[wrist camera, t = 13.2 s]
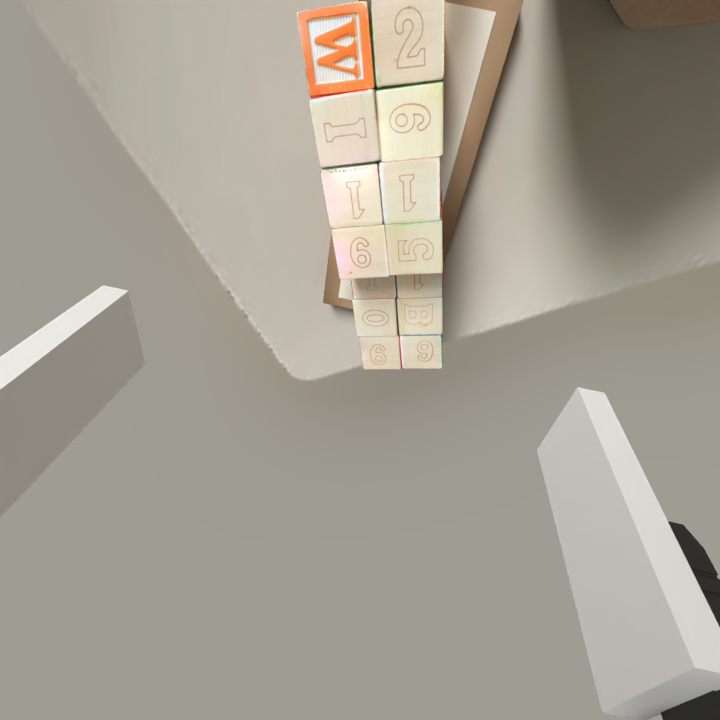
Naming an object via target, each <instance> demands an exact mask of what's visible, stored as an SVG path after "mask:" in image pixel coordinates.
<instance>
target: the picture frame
mask: <svg viewBox="0 0 720 720" xmlns="http://www.w3.org/2000/svg"><path fill="white" fill-rule="evenodd" d="M360 1H367V2H371V1H372V0H359V2H360ZM522 3H523V0H445V57H444V111H443V155H442V157H441V190H442V248H443V262H444V259H445V256H446V252H447V249H448V246H449V243H450V239H451V236H452V233H453V230H454V226H455V223H456V220H457V216H458V213H459V210H460V207H461V203H462V200H463V197H464V193H465V190H466V187H467V184H468V180H469V177H470V174H471V170H472V167H473V164H474V161H475V157H476V154H477V151H478V147H479V144H480V141H481V138H482V134H483V131H484V128H485V124H486V121H487V118H488V115H489V111H490V108H491V105H492V101H493V98H494V95H495V92H496V88H497V85H498V82H499V78H500V75H501V72H502V69H503V65H504V62H505V59H506V55H507V52H508V49H509V46H510V42H511V39H512V36H513V32H514V29H515V26H516V23H517V19H518V16H519V13H520V9H521V6H522ZM352 299H353V294H352V286H351V279H342V280H340V278H339V273H338V268H337V262H336V256H335V251H334V245H333V239H332V232H331V241H330V249H329V258H328V266H327V275H326V283H325V292H324V300H323V303H326V304H331V305H335V306H340V307H345V308H349V309H353V302H352Z"/></svg>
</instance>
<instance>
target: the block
mask: <svg viewBox="0 0 720 720" xmlns="http://www.w3.org/2000/svg"><path fill="white" fill-rule="evenodd" d="M609 1H610V3H611V4H612V6H613V7H614V9H615V11H616V12H617V14H618V15H619V17H620V18H621V20H622V22H623V23H624V25H625V26H627V27H629V28H631V29H633V30H635V31H637V30H646V29H654V28H663V27H671V26H680V25H688V24H697V23H705V22H714V21H720V0H609Z"/></svg>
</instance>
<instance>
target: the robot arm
mask: <svg viewBox="0 0 720 720" xmlns="http://www.w3.org/2000/svg"><path fill="white" fill-rule="evenodd" d="M144 364H145V363H144V358H143V354H142V349H141V345H140V340H139V336H138V331H137V327H136V323H135V318H134V314H133V309H132V304H131V300H130V295H129V291H127V290H122V289H118V288H113V287H108V286H104V285H103V286H102V287H100V288H99V289H97V290H96V291H94V292H93V293H92V294H90V295H89V296H87V297H86V298H84V299H83V300H81V301H80V302H79V303H77V304H76V305H74V306H73V307H72V308H70V309H69V310H67V311H66V312H64V313H63V314H62V315H60V316H58V317H57V318H56V319H54V320H53V321H51V322H50V323H49V324H47V325H46V326H44V327H43V328H41V329H40V330H38V331H37V332H35V333H34V334H33V335H31V336H30V337H28V338H27V339H25V340H24V341H23V342H21V343H20V344H18V345H17V346H15V347H14V348H13V349H11V350H10V351H8V352H7V353H5V354H4V355H2V356H1V357H0V518H1V517H2V515H3V514H4V513H5V512H6V511H7V510H8V509H9V508H10V507H11V506H12V505H13V504H14V502H16V501H17V499H18V498H19V497H20V496H21V495H22V494H23V493H24V492H25V491H26V490H27V489H28V488H29V487H30V486H31V484H33V482H34V481H35V480H36V479H37V478H38V477H39V476H40V475H41V474H42V473H43V472H44V471H45V470H46V469H47V467H49V465H50V464H51V463H52V462H53V461H54V460H55V459H56V458H57V457H58V456H59V455H60V454H61V452H63V451H64V449H65V448H66V447H67V446H68V445H69V444H70V443H71V442H72V441H73V440H74V439H75V438H76V437H77V436H78V435H79V433H80V432H81V431H82V430H83V429H84V428H85V427H86V426H87V425H88V424H89V423H90V422H91V421H92V420H93V419H94V418H95V416H97V414H98V413H99V412H100V411H101V410H102V409H103V408H104V407H105V406H106V405H107V404H108V403H109V402H110V401H111V400H112V399H113V397H114V396H115V395H116V394H117V393H118V392H119V391H120V390H121V389H122V388H123V387H124V386H125V385H126V383H127V382H128V381H129V380H130V379H131V378H132V377H133V376H134V375H135V374H136V373H137V372H138V371H139V370H140V369H141V368H142V367H143V365H144ZM537 453H538V457H539V460H540V465H541V468H542V473H543V476H544V481H545V484H546V489H547V493H548V496H549V500H550V505H551V509H552V513H553V517H554V521H555V524H556V529H557V532H558V537H559V541H560V545H561V549H562V553H563V557H564V561H565V564H566V569H567V573H568V577H569V581H570V585H571V589H572V593H573V596H574V600H575V605H576V609H577V612H578V617H579V621H580V624H581V629H582V633H583V637H584V641H585V645H586V649H587V653H588V657H589V661H590V665H591V669H592V673H593V676H594V681H595V684H596V689H597V693H598V697H599V701H600V705H601V709H602V712H603V713H607V714H611V715H615V716H619V717H624V718H628V719H632V720H647V719H650V718H652V717H654V716H657V715H659V714H661V715H662V718H663V720H720V579H718V578H717V575H718V574H717V572H716V570H715V568H714V566H713V565H712V563H711V561H710V559H709V557H708V555H707V553H706V552H705V550H704V548H703V547H702V546H701V545H700V544H699V542H698V541H697V540H696V539H695V538H694V537H693V536H692V534H691V533H690V532H689V531H688V530H687V529H686V528H685V526H684V525H682V524H677V523H673V522H668V521H667V519H666V517H665V515H664V513H663V511H662V509H661V507H660V505H659V503H658V501H657V499H656V497H655V495H654V493H653V491H652V488H651V486H650V484H649V482H648V481H647V478H646V476H645V474H644V472H643V470H642V468H641V466H640V464H639V462H638V460H637V458H636V456H635V454H634V452H633V450H632V448H631V446H630V444H629V442H628V440H627V438H626V435H625V433H624V431H623V429H622V428H621V425H620V423H619V422H618V419H617V417H616V415H615V413H614V411H613V409H612V407H611V405H610V403H609V401H608V399H607V397H606V395H605V393H602V392H598V391H593V390H588V389H583V388H579V387H577V389H576V390H575V392H574V393H573V395H572V397H571V398H570V400H569V401H568V403H567V404H566V406H565V407H564V409H563V410H562V412H561V414H560V415H559V417H558V418H557V420H556V421H555V423H554V424H553V426H552V428H551V429H550V431H549V432H548V434H547V436H546V437H545V438H544V440H543V441H542V443H541V444H540V446H539V448H538V449H537Z"/></svg>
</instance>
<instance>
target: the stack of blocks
mask: <svg viewBox="0 0 720 720" xmlns="http://www.w3.org/2000/svg"><path fill="white" fill-rule="evenodd" d="M297 21H298V28H299V34H300V40H301V46H302V52H303V58H304V64H305V71H306V77H307V83H308V90H309V94H310V96H311V99H310V102H309V105H310V111H311V117H312V123H313V128H314V133H315V139H316V145H317V151H318V156H319V161H320V165H321V167H322V170H321V181H322V187H323V192H324V198H325V203H326V209H327V214H328V220H329V225H330V227H331V229H332V239H333V245H334V251H335V256H336V262H337V268H338V273H339V278H340V280H342V279H351V286H352V294H353V299H352V302H353V311H354V319H355V325H356V332H357V336H358V337H359V343H360V350H361V358H362V365H363V369H401V368H406V369H441V368H442V331H443V321H442V303H443V302H442V294H443V290H442V288H443V280H442V272H443V248H442V190H441V157H442V155H443V111H444V57H445V0H372V1H371V2H367V1H360V2H352V3H346V4H340V5H334V6H327V7H322V8H316V9H310V10H304V11H301V12H298V13H297Z"/></svg>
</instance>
